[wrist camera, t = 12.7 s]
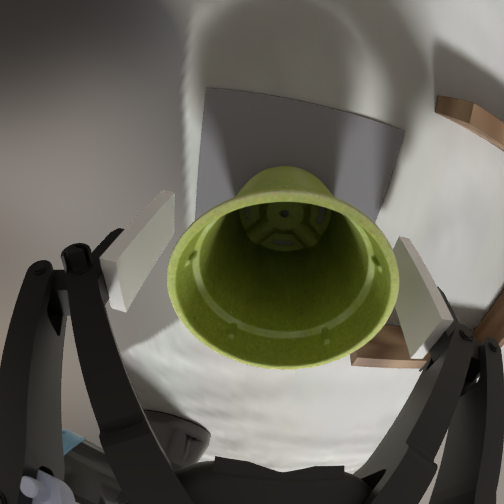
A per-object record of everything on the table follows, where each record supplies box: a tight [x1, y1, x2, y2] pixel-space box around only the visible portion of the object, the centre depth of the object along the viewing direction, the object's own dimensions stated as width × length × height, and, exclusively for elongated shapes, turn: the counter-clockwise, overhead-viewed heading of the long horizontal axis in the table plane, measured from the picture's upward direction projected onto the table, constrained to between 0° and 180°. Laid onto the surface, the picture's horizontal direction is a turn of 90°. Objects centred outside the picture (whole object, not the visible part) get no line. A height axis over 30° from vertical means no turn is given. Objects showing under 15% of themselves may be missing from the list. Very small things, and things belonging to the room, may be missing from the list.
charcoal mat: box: [195, 88, 405, 245], centre depth 18 cm, size 12×14×1 cm
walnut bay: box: [350, 96, 504, 368], centre depth 16 cm, size 17×20×4 cm
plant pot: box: [167, 166, 399, 370], centre depth 14 cm, size 9×9×9 cm
